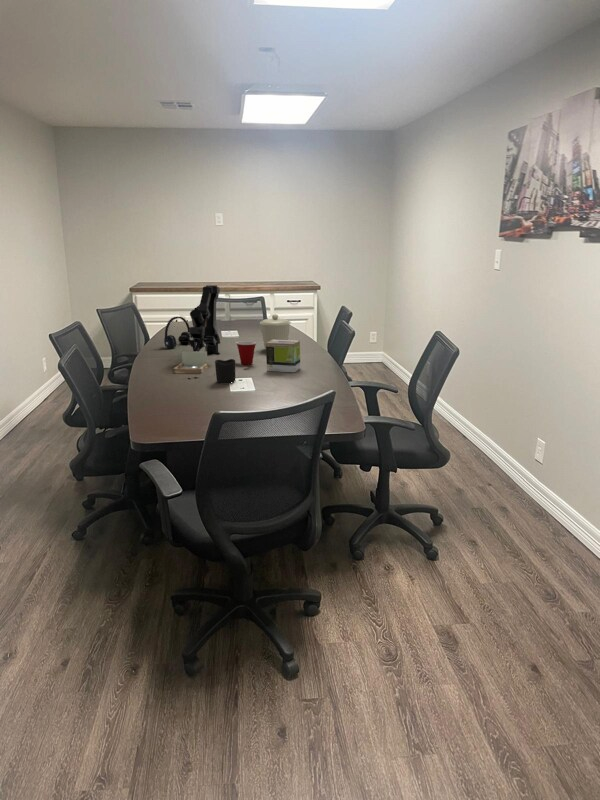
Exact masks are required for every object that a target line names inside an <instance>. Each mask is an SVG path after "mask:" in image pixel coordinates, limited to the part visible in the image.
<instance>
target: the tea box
mask: <svg viewBox="0 0 600 800" xmlns="http://www.w3.org/2000/svg"><path fill="white" fill-rule="evenodd" d="M265 355H266V356H265V357H266V358H265V359H266V371H267V372H268V371H269V372H281V373H296V372H298V371H299V370H300V369H301V343H300V340H298V339H297V340H295V339H294V340H292V339H288V340H271V341H269V342H267V343H266V349H265Z"/></svg>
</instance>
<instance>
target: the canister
mask: <svg viewBox="0 0 600 800" xmlns="http://www.w3.org/2000/svg"><path fill="white" fill-rule="evenodd" d="M291 323H292V322H291V321H290V320H288V319H286V318H280V317H279V315H278V314H272V315H271V318H265V319H262V320H261V321H260V322H259V324H260V328H261V333H262V334H261V335H262V341H263V346H264V347H263V348H264V349H265V350H266V343H267V342H269V341H271V340H289V335H290V325H291Z"/></svg>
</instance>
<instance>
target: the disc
mask: <svg viewBox="0 0 600 800" xmlns="http://www.w3.org/2000/svg"><path fill="white" fill-rule="evenodd" d="M183 369H199V365H186V366H183Z"/></svg>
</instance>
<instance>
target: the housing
mask: <svg viewBox="0 0 600 800" xmlns="http://www.w3.org/2000/svg"><path fill="white" fill-rule="evenodd" d="M183 366H184V365H183V363H182V362H181V363H179V364H178V365H176V366H175V367H173V369H172V370H173V371H172V372H173V374H203V372H205V370H207V369H208V368H209V363H206V364H204V365H203V366H202V367H201V368H200V369H180V368H182V367H183Z"/></svg>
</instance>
